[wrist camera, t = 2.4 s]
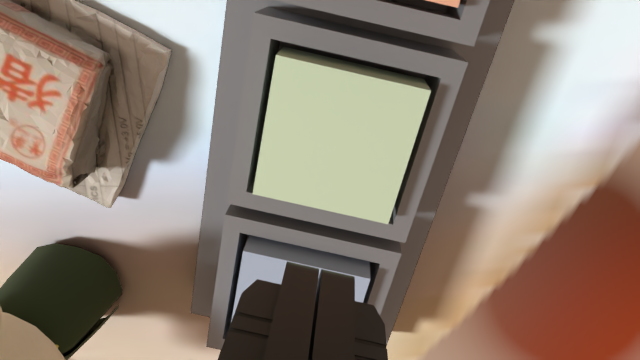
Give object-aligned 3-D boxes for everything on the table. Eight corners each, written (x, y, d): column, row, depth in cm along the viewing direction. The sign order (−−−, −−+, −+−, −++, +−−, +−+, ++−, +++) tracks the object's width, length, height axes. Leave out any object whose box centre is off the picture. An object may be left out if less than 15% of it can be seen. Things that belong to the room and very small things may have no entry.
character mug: (117, 351, 32) (-20, 570, 21) (17, 318, 32) (-183, 525, 20) (148, 230, 28) (-5, 421, 16) (33, 188, 27) (-215, 356, 15)
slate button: (252, 228, 23) (243, 250, 21) (369, 254, 23) (370, 278, 21) (236, 319, 25) (226, 346, 23) (342, 342, 25) (340, 370, 24)
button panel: (271, -273, 18) (241, -357, 13) (571, -199, 18) (643, -256, 13) (200, 291, 29) (172, 350, 25) (381, 331, 30) (386, 396, 25)
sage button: (283, 46, 19) (275, 55, 17) (424, 79, 19) (431, 90, 17) (261, 174, 21) (252, 193, 20) (385, 202, 22) (388, 224, 20)
